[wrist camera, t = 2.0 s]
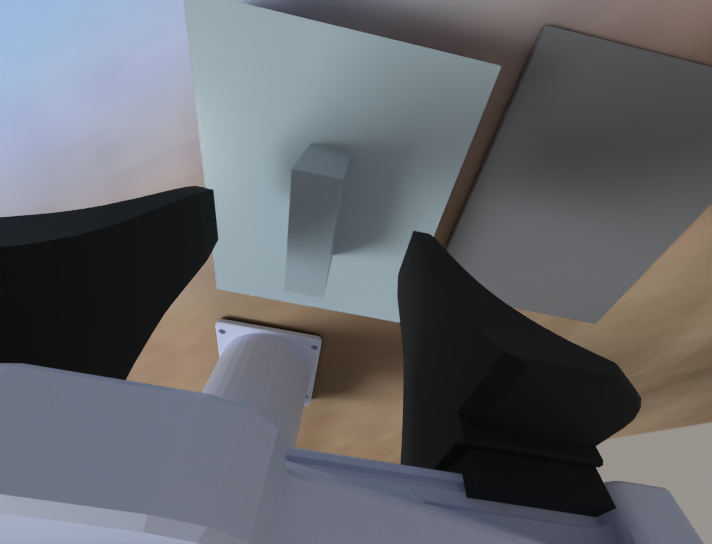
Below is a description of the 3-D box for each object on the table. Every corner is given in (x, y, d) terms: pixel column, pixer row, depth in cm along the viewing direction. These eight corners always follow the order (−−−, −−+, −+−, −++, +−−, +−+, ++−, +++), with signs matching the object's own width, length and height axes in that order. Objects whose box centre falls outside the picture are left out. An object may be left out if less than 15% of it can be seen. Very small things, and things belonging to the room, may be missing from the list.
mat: (592, 320, 20) (595, 323, 20) (428, 288, 20) (428, 291, 19) (808, 92, 12) (817, 93, 12) (543, 25, 12) (547, 25, 11)
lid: (398, 315, 18) (402, 370, 15) (221, 282, 17) (186, 332, 14) (496, 65, 10) (544, 70, 7) (192, -9, 10) (106, -37, 7)
